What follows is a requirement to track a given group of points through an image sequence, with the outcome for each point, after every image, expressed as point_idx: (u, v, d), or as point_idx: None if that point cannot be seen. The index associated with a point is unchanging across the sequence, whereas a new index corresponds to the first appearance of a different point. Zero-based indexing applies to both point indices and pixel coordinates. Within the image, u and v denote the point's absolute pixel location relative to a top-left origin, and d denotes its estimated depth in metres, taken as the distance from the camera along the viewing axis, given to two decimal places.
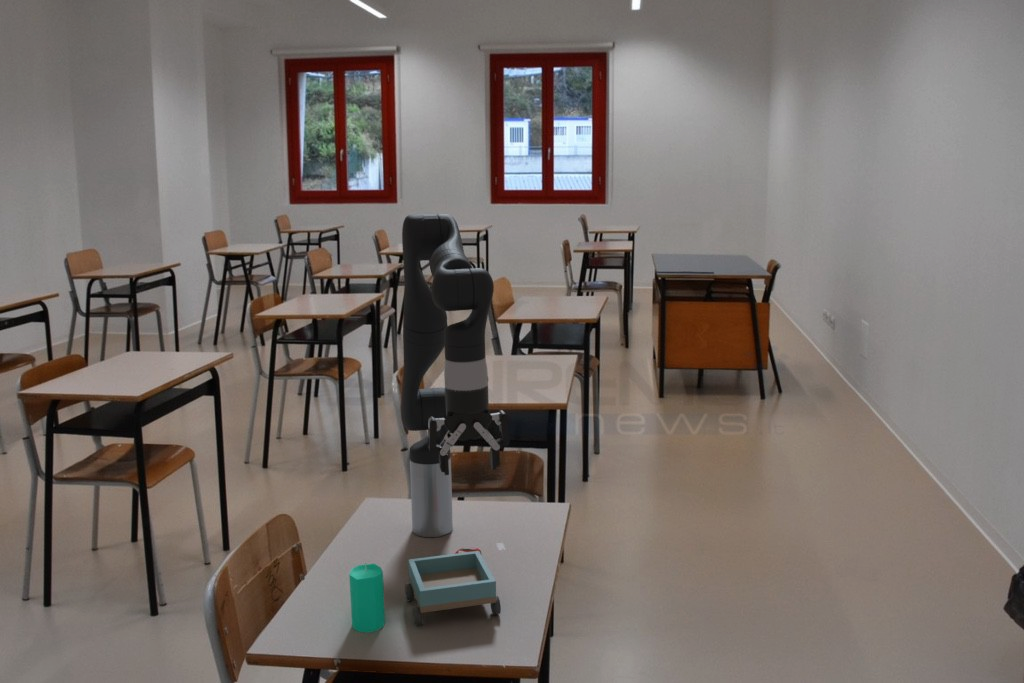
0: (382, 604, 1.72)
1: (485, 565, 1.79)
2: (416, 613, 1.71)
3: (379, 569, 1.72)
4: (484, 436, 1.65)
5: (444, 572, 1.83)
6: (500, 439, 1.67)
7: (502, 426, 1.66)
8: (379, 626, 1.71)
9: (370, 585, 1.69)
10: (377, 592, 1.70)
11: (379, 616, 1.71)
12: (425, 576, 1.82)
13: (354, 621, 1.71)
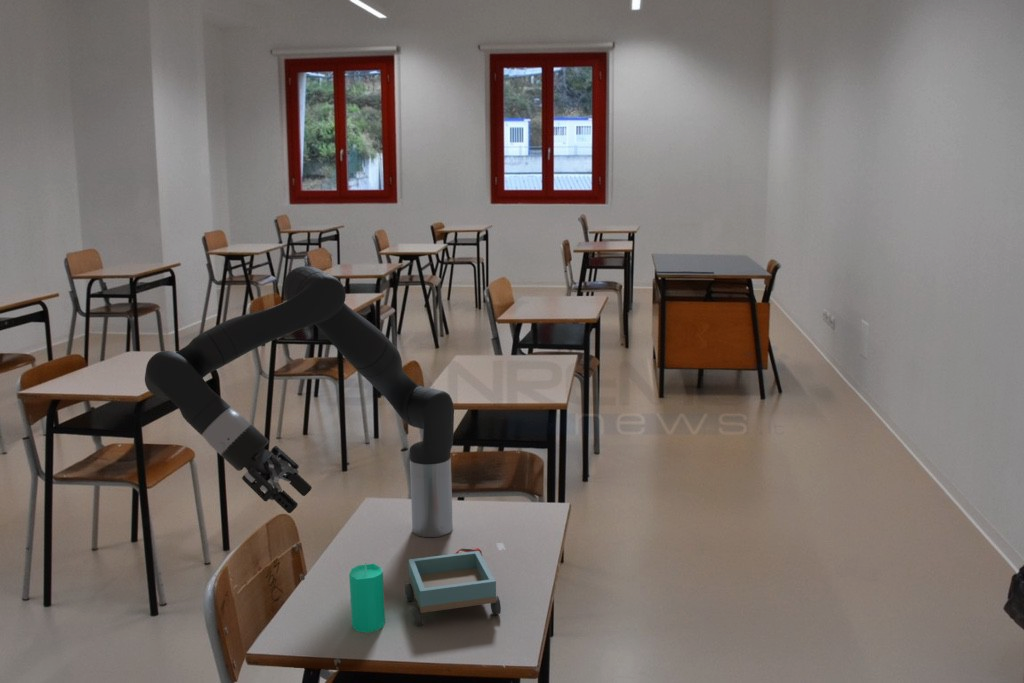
0: (382, 604, 1.72)
1: (485, 565, 1.79)
2: (416, 613, 1.71)
3: (379, 569, 1.72)
4: None
5: (444, 572, 1.83)
6: None
7: None
8: (379, 626, 1.71)
9: (370, 585, 1.69)
10: (377, 592, 1.70)
11: (379, 616, 1.71)
12: (425, 576, 1.82)
13: (354, 621, 1.71)
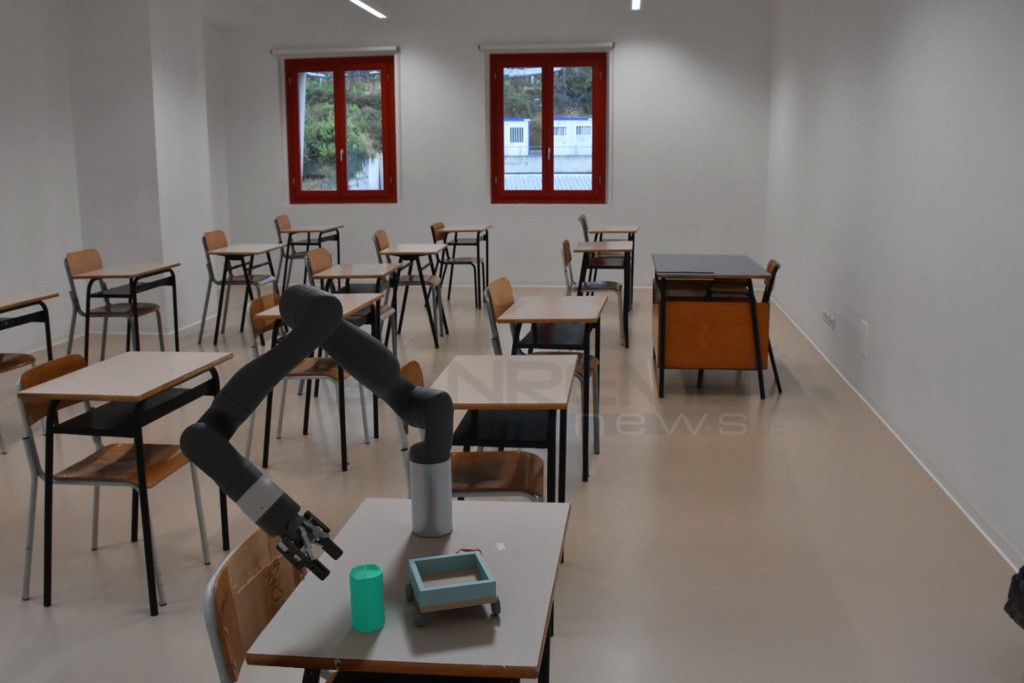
0: (382, 604, 1.72)
1: (485, 565, 1.79)
2: (416, 613, 1.71)
3: (379, 569, 1.72)
4: None
5: (444, 572, 1.83)
6: None
7: None
8: (379, 626, 1.71)
9: (370, 585, 1.69)
10: (377, 592, 1.70)
11: (379, 616, 1.71)
12: (425, 576, 1.82)
13: (354, 621, 1.71)
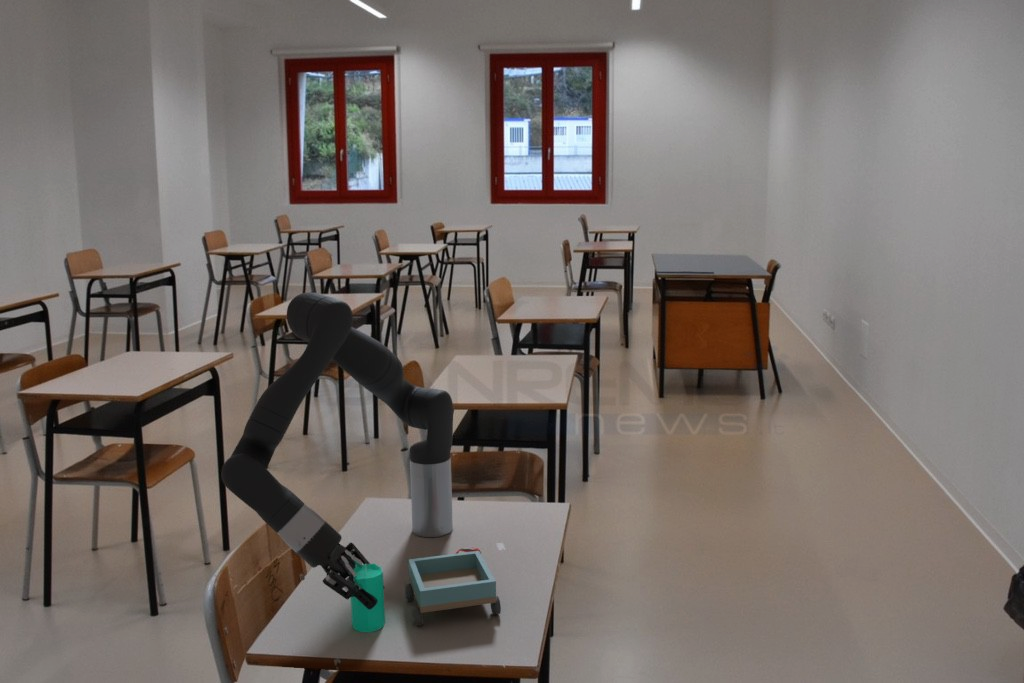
0: (382, 604, 1.72)
1: (485, 565, 1.79)
2: (416, 613, 1.71)
3: (379, 569, 1.72)
4: None
5: (444, 572, 1.83)
6: None
7: None
8: (379, 626, 1.71)
9: (370, 585, 1.69)
10: (377, 592, 1.70)
11: (379, 616, 1.71)
12: (425, 576, 1.82)
13: (354, 621, 1.71)
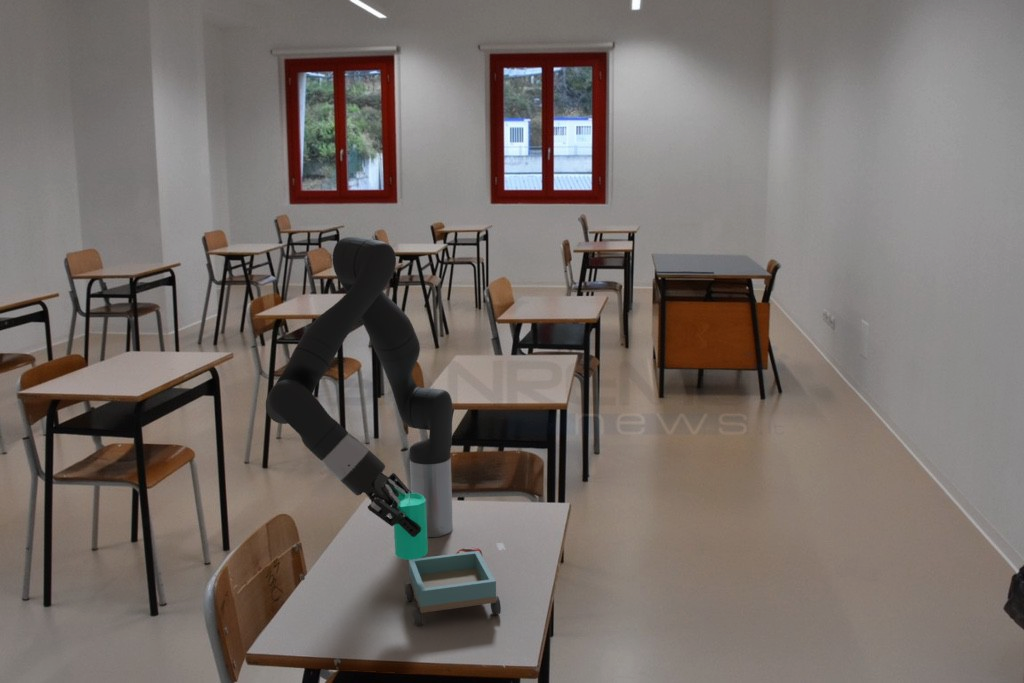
0: (425, 532, 1.73)
1: (485, 565, 1.79)
2: (416, 613, 1.71)
3: (422, 498, 1.73)
4: None
5: (444, 572, 1.83)
6: None
7: None
8: (422, 554, 1.73)
9: (414, 513, 1.70)
10: (421, 520, 1.71)
11: (422, 544, 1.72)
12: (425, 576, 1.82)
13: (398, 549, 1.72)
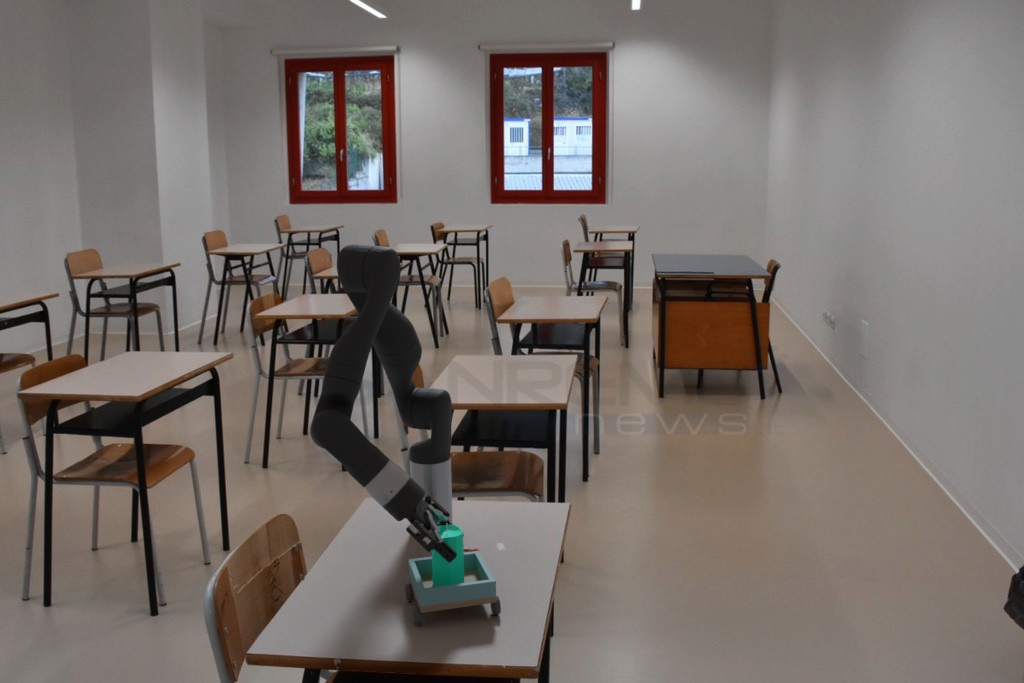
0: (462, 563, 1.77)
1: (485, 565, 1.79)
2: (416, 613, 1.71)
3: (459, 529, 1.78)
4: None
5: None
6: None
7: None
8: None
9: (452, 544, 1.75)
10: (458, 551, 1.76)
11: (460, 574, 1.77)
12: (425, 576, 1.82)
13: (436, 579, 1.77)
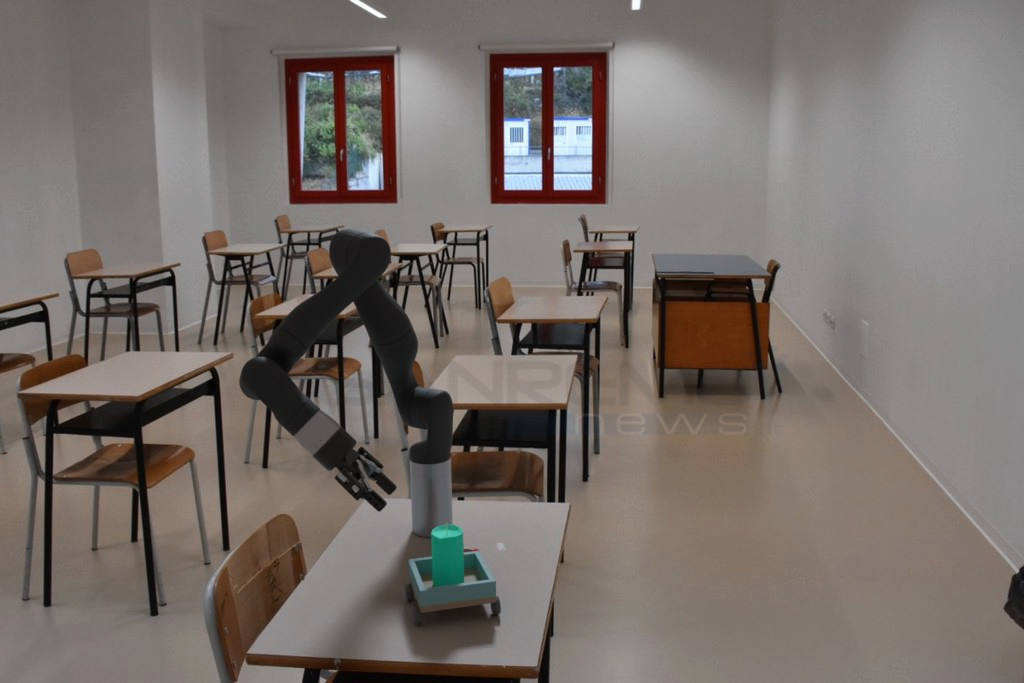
0: (462, 563, 1.77)
1: (485, 565, 1.79)
2: (416, 613, 1.71)
3: (459, 529, 1.78)
4: None
5: None
6: None
7: None
8: None
9: (452, 544, 1.75)
10: (458, 551, 1.76)
11: (460, 574, 1.77)
12: (425, 576, 1.82)
13: (436, 579, 1.77)
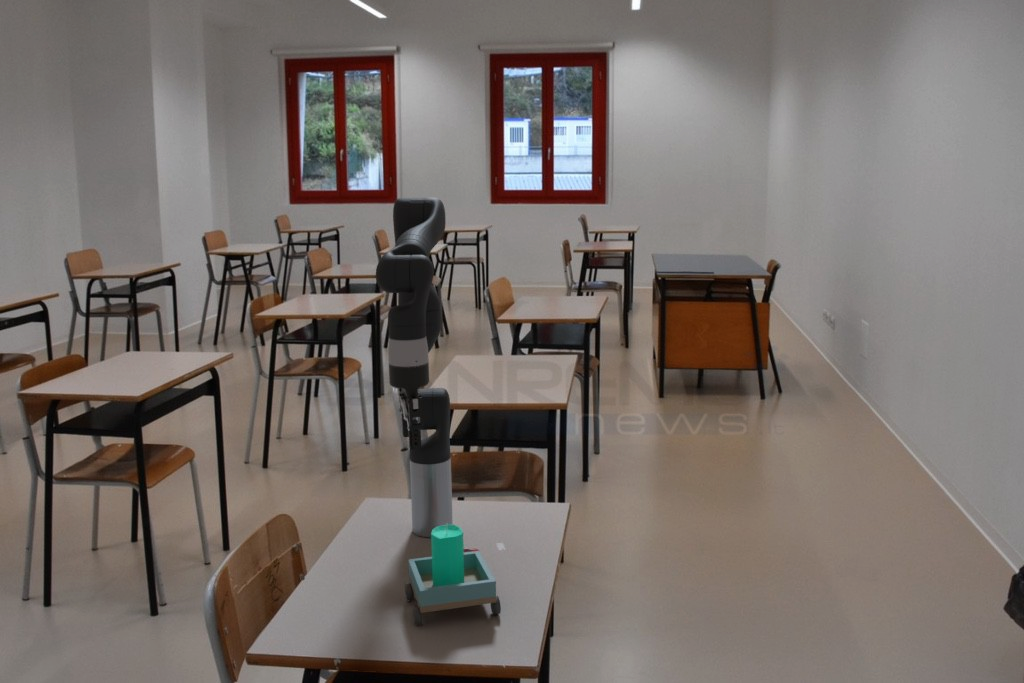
0: (462, 563, 1.77)
1: (485, 565, 1.79)
2: (416, 613, 1.71)
3: (459, 529, 1.78)
4: (403, 412, 1.77)
5: None
6: None
7: (408, 410, 1.74)
8: None
9: (452, 544, 1.75)
10: (458, 551, 1.76)
11: (460, 574, 1.77)
12: (425, 576, 1.82)
13: (436, 579, 1.77)
